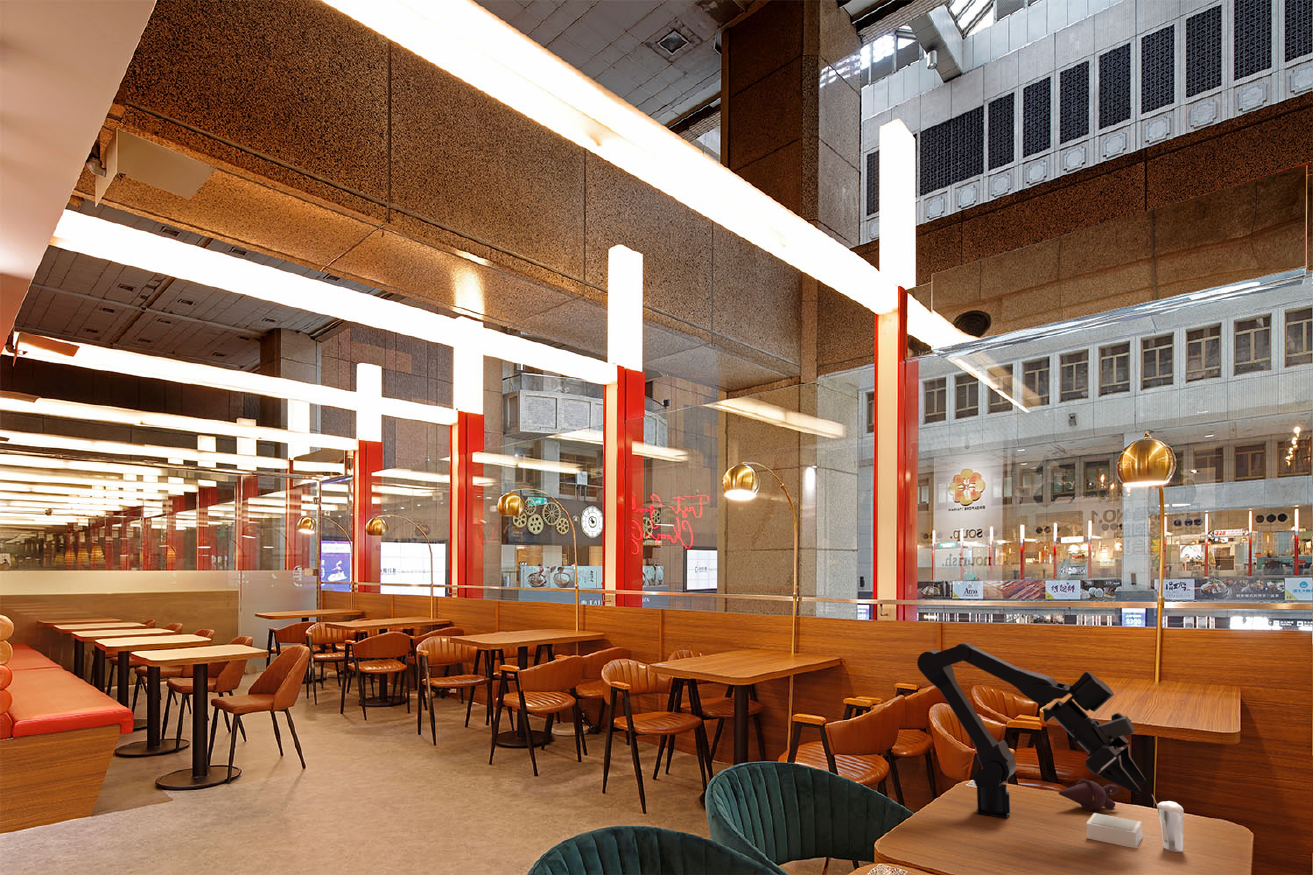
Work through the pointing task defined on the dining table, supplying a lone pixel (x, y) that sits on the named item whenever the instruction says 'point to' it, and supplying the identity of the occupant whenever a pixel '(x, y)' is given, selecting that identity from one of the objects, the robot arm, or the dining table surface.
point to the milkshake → (1171, 825)
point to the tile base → (1114, 830)
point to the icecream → (1091, 794)
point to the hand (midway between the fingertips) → (1141, 787)
